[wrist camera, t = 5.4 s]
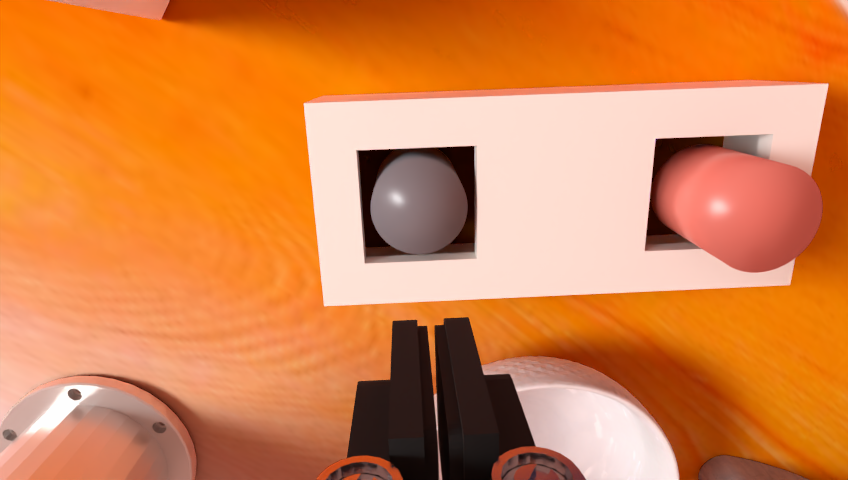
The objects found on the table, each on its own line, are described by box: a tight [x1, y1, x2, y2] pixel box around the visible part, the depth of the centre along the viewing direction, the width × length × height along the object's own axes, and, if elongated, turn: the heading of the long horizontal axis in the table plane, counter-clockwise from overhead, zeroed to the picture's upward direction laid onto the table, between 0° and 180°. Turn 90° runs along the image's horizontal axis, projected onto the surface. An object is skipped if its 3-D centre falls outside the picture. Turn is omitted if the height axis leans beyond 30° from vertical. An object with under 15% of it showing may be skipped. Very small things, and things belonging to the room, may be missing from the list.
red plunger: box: [651, 144, 823, 273], centre depth 25 cm, size 5×5×6 cm
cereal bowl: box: [434, 356, 679, 480], centre depth 34 cm, size 17×17×7 cm
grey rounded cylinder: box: [371, 147, 468, 254], centre depth 28 cm, size 5×5×6 cm
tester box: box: [304, 80, 829, 306], centre depth 29 cm, size 10×24×6 cm, turn 92°
